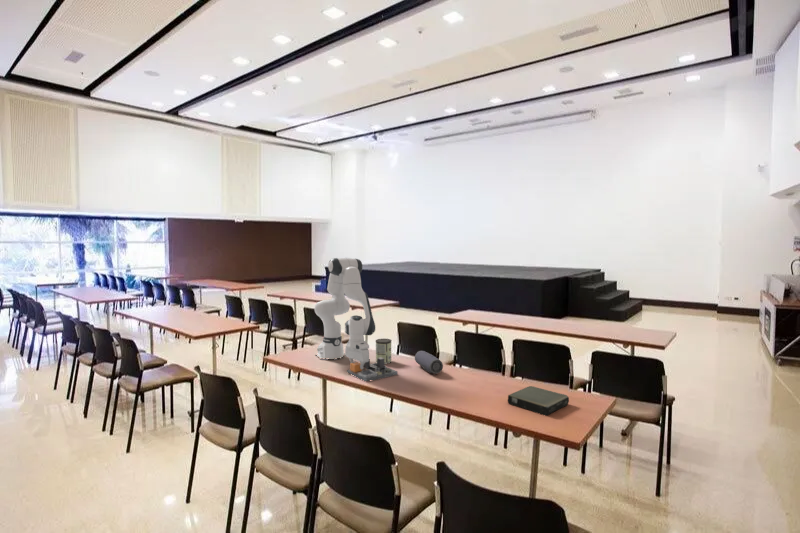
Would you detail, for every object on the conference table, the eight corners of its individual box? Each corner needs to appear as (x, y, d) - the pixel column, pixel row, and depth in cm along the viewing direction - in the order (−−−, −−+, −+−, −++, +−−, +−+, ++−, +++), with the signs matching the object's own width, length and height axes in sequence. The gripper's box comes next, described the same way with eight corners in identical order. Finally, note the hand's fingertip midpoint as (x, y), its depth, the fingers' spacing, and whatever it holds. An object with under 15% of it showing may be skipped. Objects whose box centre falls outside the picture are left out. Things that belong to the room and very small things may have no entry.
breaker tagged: (362, 367, 269) (362, 358, 268) (366, 366, 271) (366, 357, 270) (365, 368, 266) (365, 359, 266) (369, 368, 268) (369, 358, 268)
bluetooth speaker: (443, 374, 263) (444, 358, 262) (429, 376, 260) (429, 359, 259) (427, 364, 284) (427, 349, 283) (413, 366, 281) (413, 350, 280)
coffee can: (376, 359, 296) (376, 338, 295) (392, 359, 295) (392, 338, 294) (374, 363, 286) (374, 341, 285) (390, 364, 285) (390, 342, 284)
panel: (347, 373, 265) (347, 368, 265) (377, 366, 279) (377, 361, 278) (366, 382, 249) (366, 376, 249) (397, 374, 263) (397, 369, 263)
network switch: (525, 393, 233) (525, 383, 233) (571, 404, 218) (571, 394, 218) (504, 406, 215) (505, 396, 215) (553, 418, 200) (553, 407, 200)
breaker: (377, 367, 269) (377, 357, 269) (381, 366, 271) (381, 357, 271) (380, 368, 267) (380, 358, 267) (384, 367, 269) (384, 358, 268)
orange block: (350, 370, 265) (350, 363, 265) (357, 368, 268) (357, 362, 268) (354, 372, 261) (354, 365, 261) (361, 370, 264) (361, 363, 264)
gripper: (342, 341, 270) (342, 364, 270) (361, 347, 254) (362, 371, 255) (351, 340, 274) (351, 362, 274) (371, 345, 258) (371, 369, 258)
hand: (356, 367), depth 264 cm, fingers open, 8 cm apart
